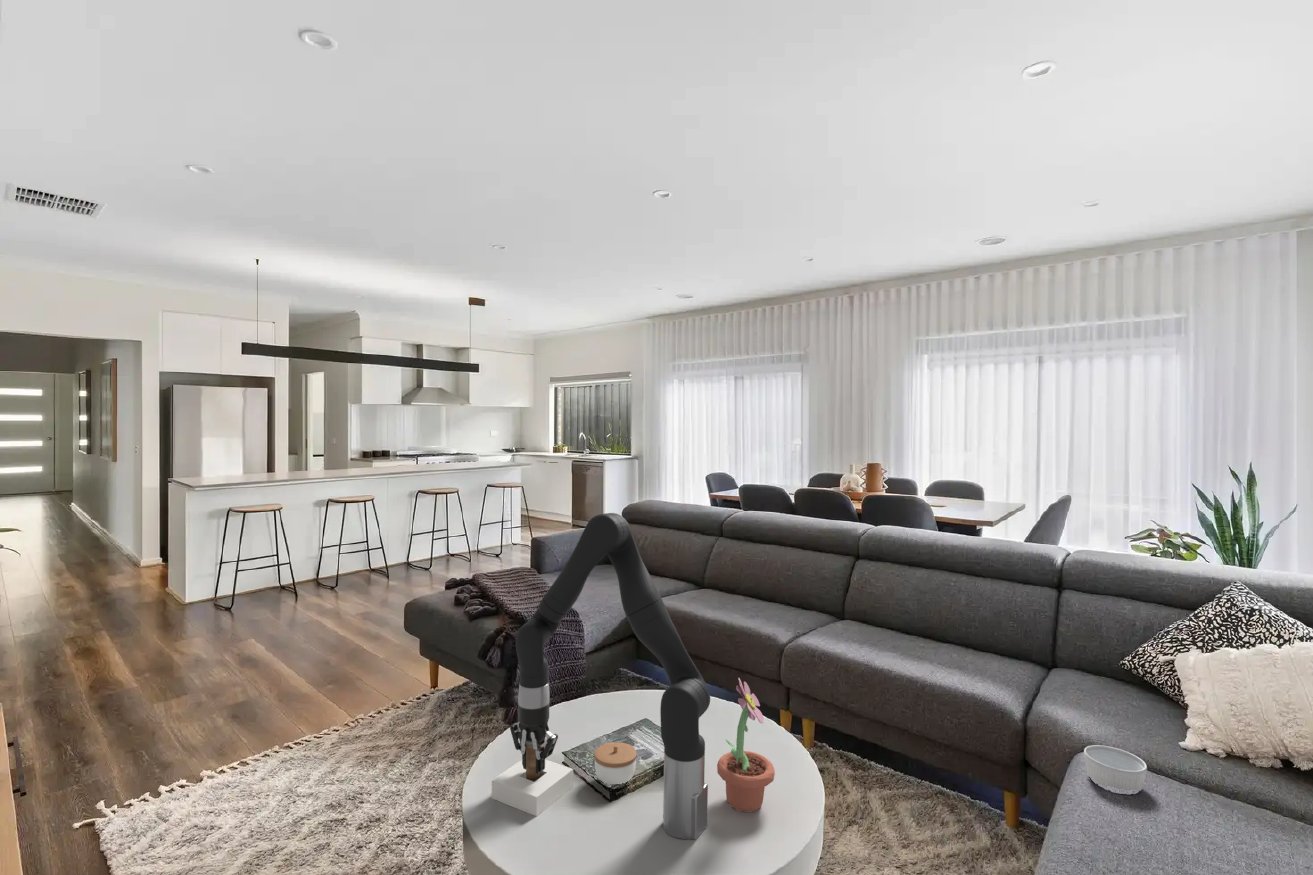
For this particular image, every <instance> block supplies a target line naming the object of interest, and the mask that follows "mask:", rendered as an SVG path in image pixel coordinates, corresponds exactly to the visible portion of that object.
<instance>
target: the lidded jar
mask: <svg viewBox="0 0 1313 875" xmlns="http://www.w3.org/2000/svg"><path fill="white" fill-rule="evenodd" d="M637 753H638V752H637V750H636V749H635V747H633V745H632V744H628V743H626V742H617V741H615V742H607V743H604V744H602V745H599V746H597V748H596V749H595V751H594V756H593V757H594V769H595V774H596V776H597V778H598V780H599V779H600V780H601V781H602V782H604V783H609V784H622V783H625V782H627V781H629V780H630V779H631V780H632V779H633V777H634V774H635V772H636V766H637V756H638V755H637ZM600 780H599V781H600ZM631 780H630V781H631ZM601 781H600V782H601ZM630 781H629V782H630ZM602 782H601V783H602Z"/></svg>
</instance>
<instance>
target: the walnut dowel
mask: <svg viewBox="0 0 1313 875" xmlns="http://www.w3.org/2000/svg"><path fill="white" fill-rule="evenodd" d="M539 744H541V742H540V743H539ZM539 744H538V745H539ZM540 752H541V749H540ZM536 759H537V758H536V752H535V750H534V749H533V742H532V741H531V740H528V739H527V740H526V779H528V780H531V781H533V782H535V781H536V780H538V779H539V778H540V777H541V773H540V774H537V773H536Z"/></svg>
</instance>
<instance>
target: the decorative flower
mask: <svg viewBox="0 0 1313 875" xmlns="http://www.w3.org/2000/svg"><path fill="white" fill-rule="evenodd" d="M738 684H739V685H738ZM738 684H737V685H736V688H735V689H736V691H737V693H738V694H739V695H740V696H741V697H742V698H741V697H739V698H737V701H738V704H739V706H740V708H741V710H742V711H741V714H740V717H739V721H738V724H737V729H736V731H737V732H736V740H735V741H736V746H735V745H734V744H733V743H731V741H730V740H728V739H726V738H725V739H724V740H725V742H726V743H727V744H728V745H729V746H730V747H732V748H731V749H730V750H731V751H730V752H727V753H725V754H723V755H722V756H721V757H720V758H719V759H718V761H717V763H716V767H717V768H716V769H717V770H716V772H717V774H718V776H719V777H720V778H721V780H723V781H724V782H725V795H726V796H725V797H726V801H727V802H728V805H729V806H730V807H731V808H733V809H735V810H737V811H740V812H743V813H744V812H745V813H752V812H755V811H758V810H759V809H760V808H761V807H762V806H763V801H764V797H765V796H764V795H765V789H766V788H765V787H768V786H769V785H770V784H771V783H773V782H774V779H775V776H776V772H775V767H774V765H773V763H772V762H771V761H770V760H769V758H766V757H765V756H764V755H761V754H760V753H757V752H754V751H749V750H744V748H745V747H744V745H745V733H748V732H749V731H748V730H749V728H748V726H747V722H748V718H749V719H751V720H752V721H756V719H757V721H758V722H759V723H760V724H764V722H765V721H764V715H763V713H762V712H761V710H760V709H759V708H758V707H760V706H761V704H760V701H759V699H758V698H757V696H756V694H754V693H751V689H750V686H749V685H748V683H747V682H746V681H743V683H742V680H741V679H740V677H738ZM751 811H752V812H751Z"/></svg>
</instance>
